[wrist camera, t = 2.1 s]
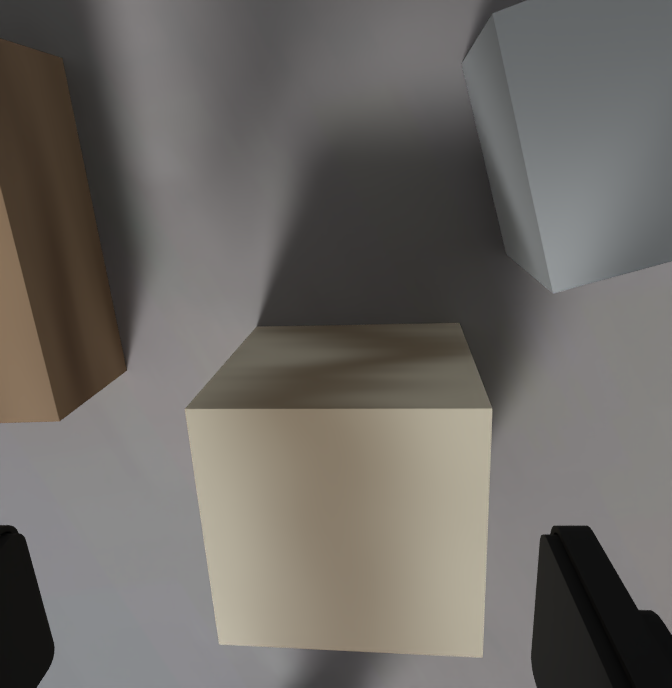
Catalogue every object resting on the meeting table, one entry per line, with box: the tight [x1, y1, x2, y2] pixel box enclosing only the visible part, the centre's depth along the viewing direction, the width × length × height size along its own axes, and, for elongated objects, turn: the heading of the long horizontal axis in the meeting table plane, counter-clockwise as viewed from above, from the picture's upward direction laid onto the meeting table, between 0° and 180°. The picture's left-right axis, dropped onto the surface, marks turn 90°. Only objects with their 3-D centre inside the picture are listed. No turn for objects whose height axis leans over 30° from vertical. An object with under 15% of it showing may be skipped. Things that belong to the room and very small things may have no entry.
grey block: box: [462, 0, 672, 293], centre depth 12 cm, size 5×5×5 cm
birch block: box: [185, 323, 492, 658], centre depth 14 cm, size 6×6×6 cm
